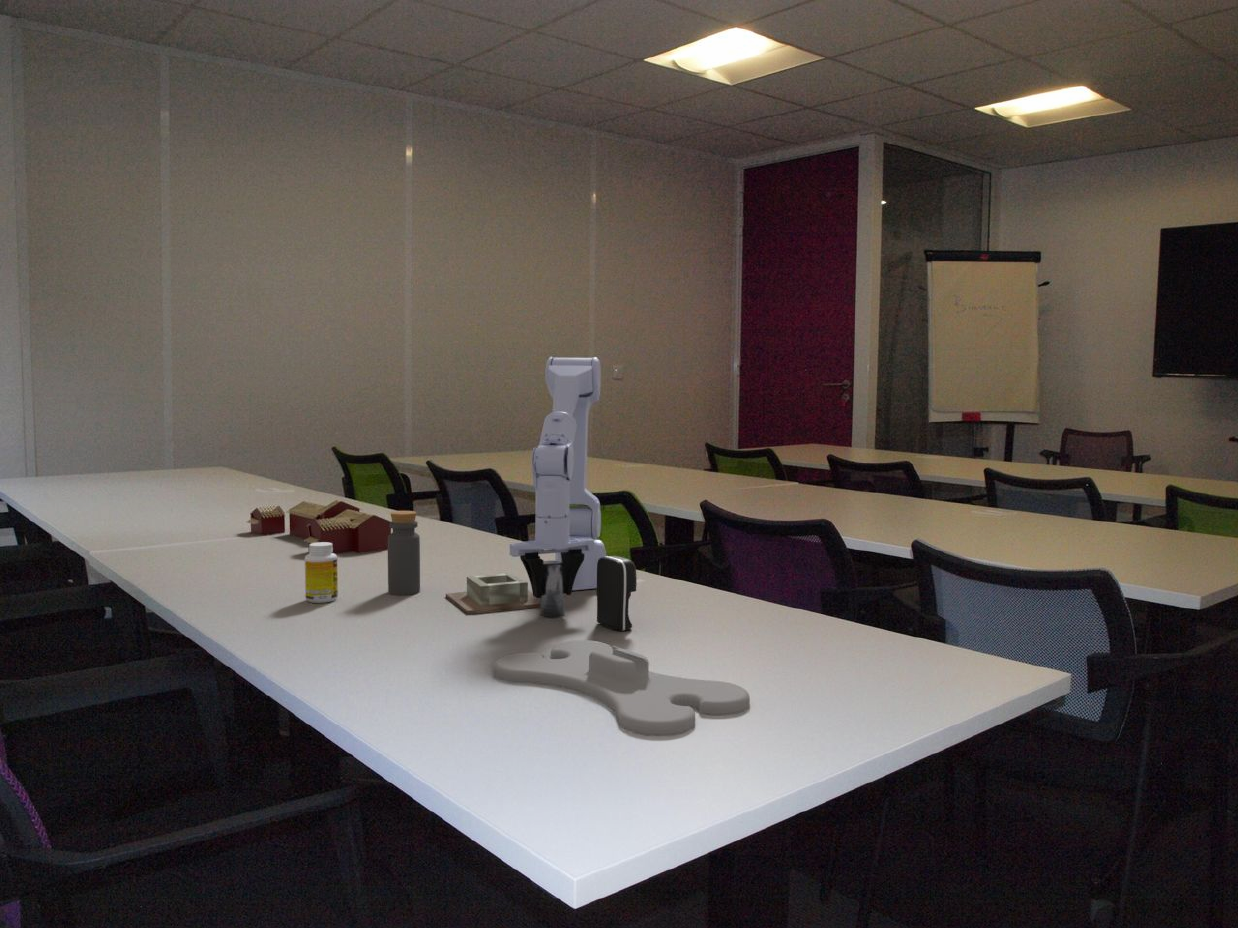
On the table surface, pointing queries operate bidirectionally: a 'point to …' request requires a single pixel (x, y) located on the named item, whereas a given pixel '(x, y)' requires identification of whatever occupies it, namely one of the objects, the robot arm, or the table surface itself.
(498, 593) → the socket
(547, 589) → the peg
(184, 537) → the table surface
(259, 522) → the toy houses
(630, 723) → the holder
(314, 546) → the supplement bottle
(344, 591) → the table surface
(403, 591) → the bottle
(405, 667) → the table surface
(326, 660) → the table surface
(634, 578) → the battery charger
